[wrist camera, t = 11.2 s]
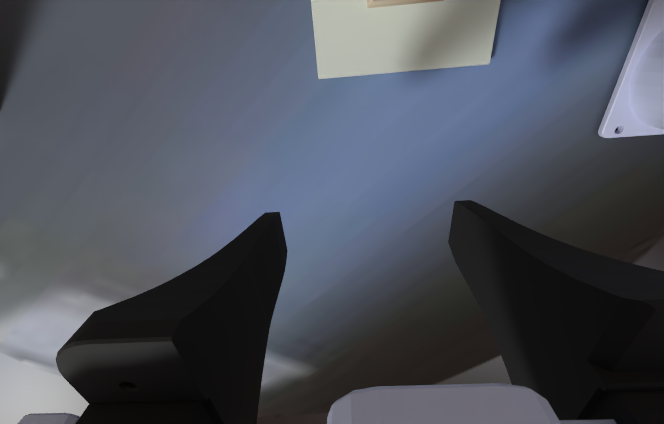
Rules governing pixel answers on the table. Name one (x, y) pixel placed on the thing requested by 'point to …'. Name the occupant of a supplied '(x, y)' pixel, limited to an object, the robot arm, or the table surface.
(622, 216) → the table surface
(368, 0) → the birch block
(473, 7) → the tile
